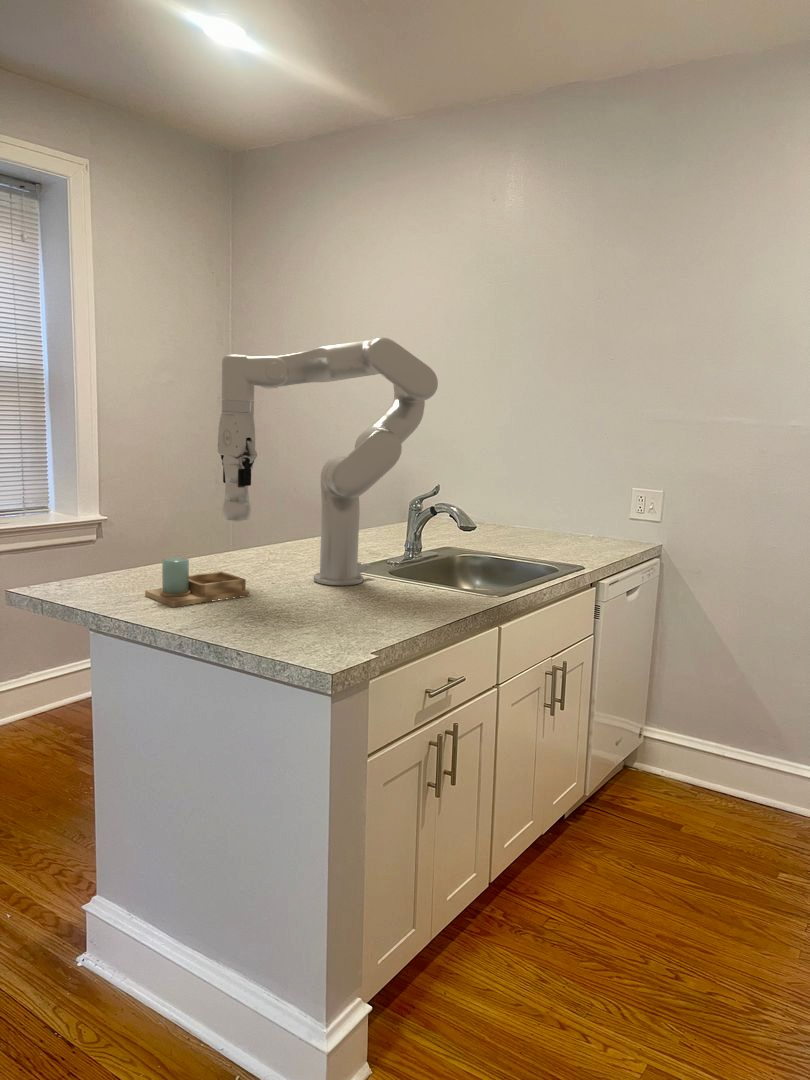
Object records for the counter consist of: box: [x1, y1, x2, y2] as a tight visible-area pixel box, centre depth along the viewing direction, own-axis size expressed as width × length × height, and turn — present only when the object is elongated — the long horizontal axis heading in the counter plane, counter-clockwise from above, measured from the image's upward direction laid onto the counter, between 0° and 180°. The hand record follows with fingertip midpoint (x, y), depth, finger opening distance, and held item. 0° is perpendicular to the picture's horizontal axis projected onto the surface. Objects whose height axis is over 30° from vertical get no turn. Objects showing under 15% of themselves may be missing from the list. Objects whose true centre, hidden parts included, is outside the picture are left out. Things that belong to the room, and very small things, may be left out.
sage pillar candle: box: [161, 557, 190, 594], centre depth 177 cm, size 6×6×7 cm
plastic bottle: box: [222, 454, 252, 522], centre depth 192 cm, size 6×7×20 cm
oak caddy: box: [144, 570, 250, 608], centre depth 181 cm, size 19×13×4 cm
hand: (236, 483), depth 192 cm, fingers closed on plastic bottle, 6 cm apart
